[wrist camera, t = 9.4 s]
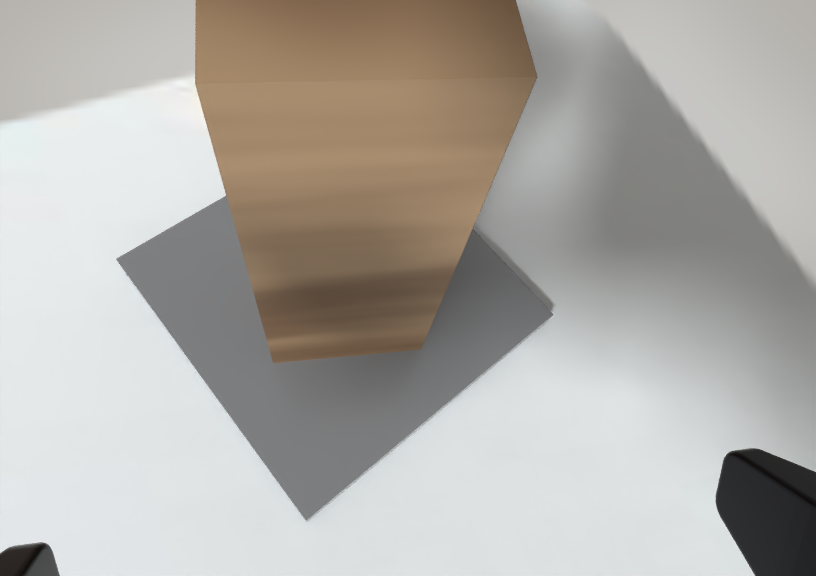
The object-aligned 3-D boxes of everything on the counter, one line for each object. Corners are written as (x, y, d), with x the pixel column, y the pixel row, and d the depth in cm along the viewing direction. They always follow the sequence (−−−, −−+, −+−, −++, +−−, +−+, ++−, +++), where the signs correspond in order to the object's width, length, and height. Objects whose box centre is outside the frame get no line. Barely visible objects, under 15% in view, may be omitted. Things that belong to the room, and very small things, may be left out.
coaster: (548, 320, 23) (553, 314, 22) (306, 521, 19) (306, 520, 18) (364, 125, 25) (365, 115, 25) (121, 266, 22) (115, 258, 21)
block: (420, 349, 21) (537, 77, 9) (273, 363, 20) (195, 84, 8) (402, 223, 23) (478, -133, 11) (266, 231, 22) (196, -143, 10)
